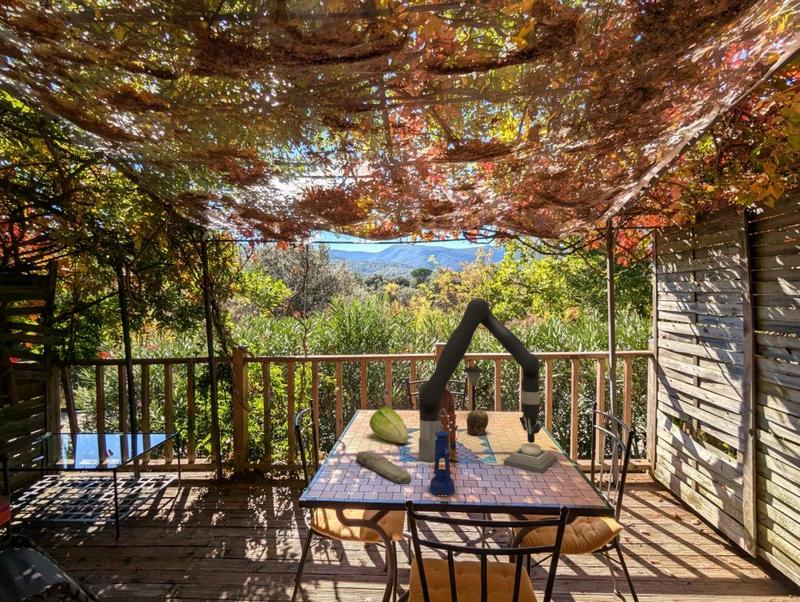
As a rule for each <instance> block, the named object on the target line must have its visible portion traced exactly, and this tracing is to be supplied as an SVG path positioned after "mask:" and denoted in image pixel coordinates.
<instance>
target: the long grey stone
mask: <svg viewBox="0 0 800 602" xmlns="http://www.w3.org/2000/svg"><path fill="white" fill-rule="evenodd" d="M355 456H356V458H355V459H356V460H357V461H358V462H359V463H360V464H362V465H363V466H364V468H367V469H370V470H372V471H374V472H376V473H378V475H382V476H384V477H385V478H386V479H388V480H389V481H392V482H395V483H398V484H402V485H406V484H410V483H411V482H412V475H411V474H410V472H408V471H407V470H404V469H403V468H401V467H400V466H398V465H396V464H395V463H393V462H392V461H390V460H389V459H388V458H387V457H386V456H382V455H380V454H378V453H375V452H370V451H365V450H364V451H363V450H362V451H358V452H357V453H356V454H355Z"/></svg>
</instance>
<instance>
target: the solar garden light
mask: <svg viewBox="0 0 800 602" xmlns="http://www.w3.org/2000/svg"><path fill="white" fill-rule="evenodd" d="M462 372H464V373H466V375H467V378H468V380H469V382H470V384H471V411H474V410H476V385H477V382H478V380H479V377H480V376H481V374H482V373H484V372H485V370H484V369H483V368H481V367H479V366H469V367H466V368H465V369H463V370H462Z"/></svg>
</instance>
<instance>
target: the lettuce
mask: <svg viewBox="0 0 800 602" xmlns="http://www.w3.org/2000/svg"><path fill="white" fill-rule="evenodd" d="M369 427H370V429H371V430H372V432H373V433H374V435H376V436H377V437H378V438H379V439H382V440H384V441H386V442H390V443H396V444H397V443H399V444H404V443H405V444H406V442H408V440H409V432H408V431H409V430H408V428H407V427H408V426H407V425H406V423H405V422H404V420H403V419H402V417H401V416H400V415H399V414H398V413H397V412H396V411H395V410H394V409H393V408H390V407H387V406H383V407H381V408H379V409H378V410H376V411H375V412H374V413H373V414H372V415H371V417H370V420H369Z"/></svg>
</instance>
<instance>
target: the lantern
mask: <svg viewBox="0 0 800 602" xmlns="http://www.w3.org/2000/svg"><path fill="white" fill-rule="evenodd" d="M443 411H444V414H445V415H446V416H445V417H446V419H447V420H448V421H447V422H448V431H444V424H442V423H441V425H440V429H441V431H439V414H440V413H441V412H443ZM440 413H439V414H438V431H437V432H435V435H436V436H437V439H436V440H435V455H434V456H435V461H434V466H433V467H434V470H433V473H432V474H434V476H433V477H431V479H430V482H429V484H430V485H429V490H428V491H430V492H431V493H432V494H431V493H430V492H429V493H430V494H431V495H433V494H434V495H433V496H435V495H440V496H439V497H441V495H443V496H444V495H450V494H453V493H454V492H455V493H456V487H455V482H454V480H453V478H452V477H451V474H452V472H451V464H450V457H451V455H450V453H451V425H450V423H451V422H450V419H449V416H448V414H447V412H446V409H445V408H442V409H440ZM441 414H442V413H441ZM447 438H448V439H447ZM439 458H441V459H444V466H445V467H444V468H440V460H439ZM455 493H454V494H455ZM454 494H453V495H454ZM450 496H451V495H450Z"/></svg>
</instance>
